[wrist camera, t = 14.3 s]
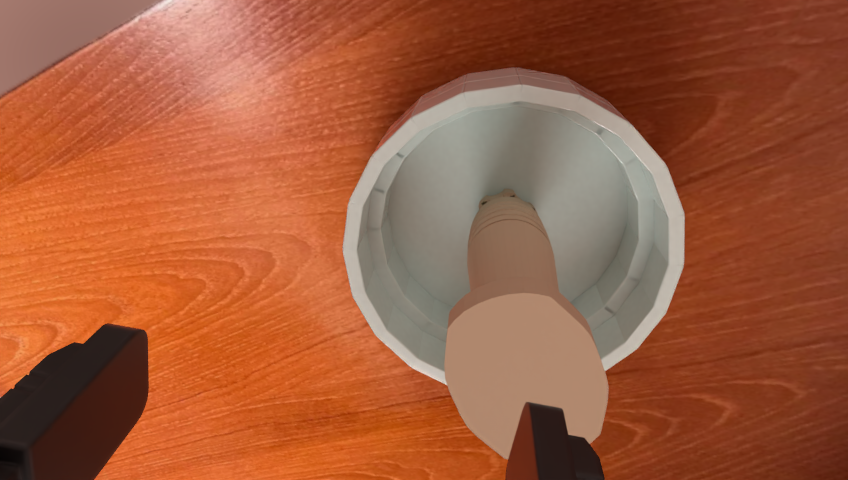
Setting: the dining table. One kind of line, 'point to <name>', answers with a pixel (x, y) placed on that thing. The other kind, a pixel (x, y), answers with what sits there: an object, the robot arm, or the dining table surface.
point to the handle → (519, 332)
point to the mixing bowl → (532, 182)
